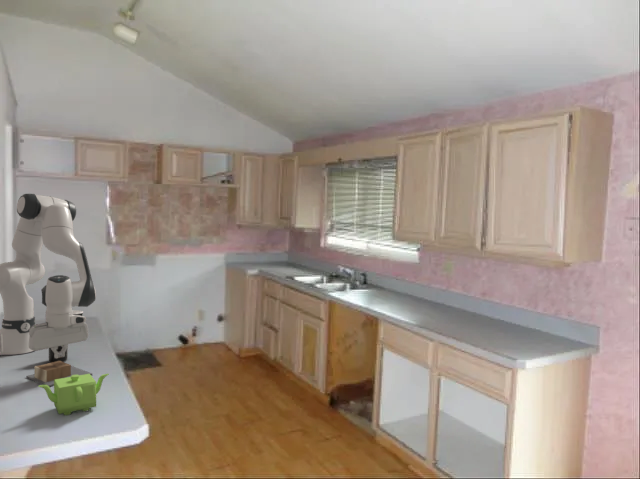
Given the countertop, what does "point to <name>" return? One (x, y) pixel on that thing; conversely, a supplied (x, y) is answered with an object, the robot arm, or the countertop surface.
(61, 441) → the countertop surface
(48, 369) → the slab
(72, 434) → the countertop surface
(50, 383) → the mat
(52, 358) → the supplement bottle
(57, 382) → the teapot
